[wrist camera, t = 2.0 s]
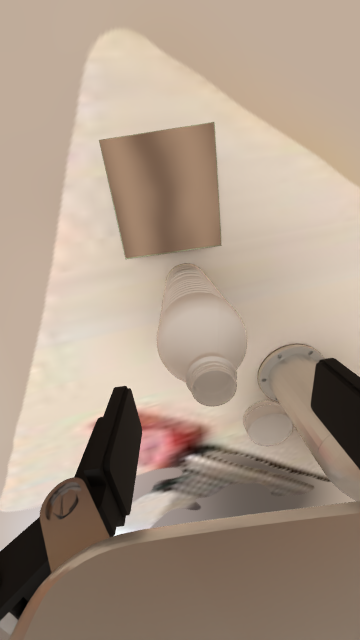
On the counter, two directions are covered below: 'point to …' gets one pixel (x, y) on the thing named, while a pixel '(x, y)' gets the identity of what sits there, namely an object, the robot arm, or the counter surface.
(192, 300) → the water bottle
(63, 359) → the counter surface
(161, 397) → the counter surface
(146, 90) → the counter surface
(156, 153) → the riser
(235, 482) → the counter surface
